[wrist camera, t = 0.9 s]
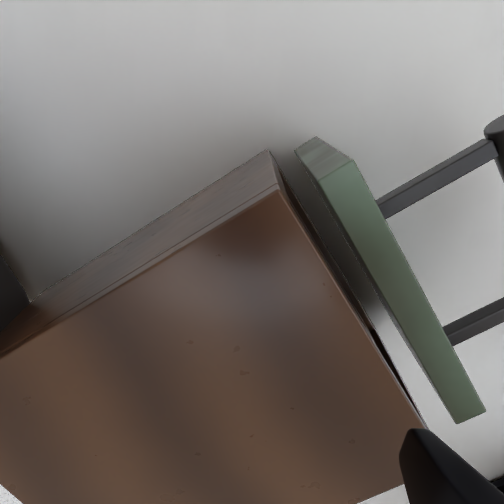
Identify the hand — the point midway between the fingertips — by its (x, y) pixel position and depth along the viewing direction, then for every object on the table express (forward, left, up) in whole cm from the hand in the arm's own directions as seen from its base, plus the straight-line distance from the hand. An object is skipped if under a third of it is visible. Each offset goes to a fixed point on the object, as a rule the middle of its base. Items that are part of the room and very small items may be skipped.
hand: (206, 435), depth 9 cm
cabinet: (-3, +4, -13) cm, 14 cm away
